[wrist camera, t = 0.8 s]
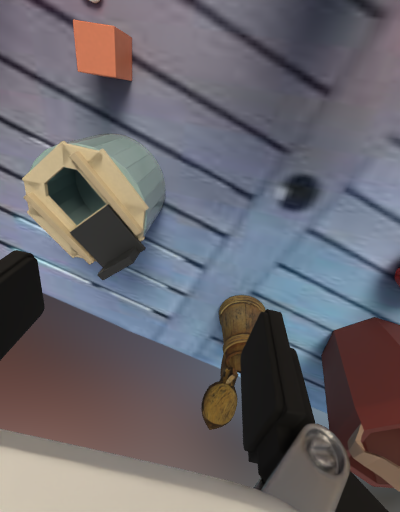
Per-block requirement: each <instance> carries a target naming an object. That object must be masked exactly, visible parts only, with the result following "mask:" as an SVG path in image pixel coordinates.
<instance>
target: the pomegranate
mask: <svg viewBox="0 0 400 512" xmlns="http://www.w3.org/2000/svg"><path fill="white" fill-rule="evenodd" d="M395 280H396V283H397V284H398V285H399V287H400V267H399V268H398V269H397V270H396V273H395Z"/></svg>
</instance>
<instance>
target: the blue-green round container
mask: <svg viewBox="0 0 400 512" xmlns="http://www.w3.org/2000/svg"><path fill="white" fill-rule="evenodd" d="M66 143H68V144H72V145H76V146H81V147H85V148H89V149H93V150H98V151H99V150H100V149H104V150H105V151H106V153H107V154H108V155H109V156H110V158H111V159H112V160H113V162H114V163H115V164H116V166H117V167H118V168H119V169H120V171H121V172H122V173H123V175H124V176H125V177H126V179H127V180H128V181H129V182H130V184H131V185H132V186H133V188H134V189H135V190H136V191H137V193H138V194H139V195H140V197H141V198H142V199H143V201H144V202H145V203H146V204H147V206H148V207H149V208H148V209H147V210H146V212H145V224H144V235H143V236H145V234H146V233H147V231H148V230H149V228H150V226H151V225H152V223H153V222H154V220H155V219H156V217H157V216H158V214H159V212H160V210H161V208H162V206H163V203H164V199H165V181H164V177H163V174H162V171H161V169H160V167H159V165H158V163H157V161H156V160H155V158H154V157H153V156H152V154H151V153H150V152H149V151H148V150H147V149H146V148H145V147H143V146H142V145H141V144H140V143H138V142H136V141H135V140H133V139H131V138H129V137H126V136H123V135H119V134H99V135H95V136H91V137H87V138H83V139H79V140H75V141H70V142H66ZM56 146H57V145H56ZM56 146H54V147H51V148H49V149H46V150H45V151H44V152H43V153H42V154H41V155H40V156H39V157H38V158H37V159H36V160H35V161H34V163H33V165H32V167H31V169H30V171H31V170H32V169H33V168H34V167H35V166H36V165H37V164H38V163H39V162H40V161H41V160H43V159H44V158H45V157H46V156H47V155H48V154H49V153H50V152H51V151H52V150H53V149H54V148H55V147H56ZM30 171H29V172H30ZM47 185H48V193H49V196H50V197H51V198H52V199H53V200H54V201H55V203H56V204H57V205H58V206H59V207H60V208H61V209H62V210H63V211H64V212H65V213H66V214H67V215H68V216H69V217H70V219H71V220H72V221H73V222H74V223H75V224H76V225H78V224H80V223H81V222H83V221H84V220H85V219H87V218H88V217H89V216H91V215H92V214H94V213H95V212H96V211H98V210H99V209H101V208H102V207H103V206H105V205H106V203H105V202H104V201H103V200H102V198H101V197H100V196H99V195H98V194H97V193H96V191H95V190H94V189H93V188H92V187H91V185H90V184H89V183H88V182H87V181H86V180H85V178H84V177H83V176H82V175H81V174H80V172H79V171H78V170H75V169H71V168H66V167H64V168H63V169H62V170H61V171H60V172H58V173H57V174H56V175H55V176H54V177H53V178H52V179H51V180H49V181H48V182H47Z"/></svg>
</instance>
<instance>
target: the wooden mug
mask: <svg viewBox="0 0 400 512" xmlns="http://www.w3.org/2000/svg"><path fill="white" fill-rule="evenodd" d="M260 312H265V308H264V306H263V304H262V303H261V302H260V301H258V300H257V299H255V298H253V297H250V296H245V295H238V296H233V297H230V298H228V299H226V300H225V301H224V302H223V303H222V305H221V307H220V309H219V319H220V324H221V326H222V333H223V341H224V345H223V353H224V355H223V359H222V364H221V379H220V381H219V382H215V383H214V384H212V385H210V386H209V388H208V389H207V391H206V393H205V394H204V397H203V401H202V416H203V418H204V421H205V423H206V425H207V426H208V428H209V430H212V429H217V428H219V427H222V426H224V425H226V424H227V423H228V422H230V421H231V419H232V417H233V416H234V413H235V410H236V406H237V394H236V391H235V387H234V385H235V381H236V378H237V377H238V375H239V374H237V372H239V373H241V366H240V358H241V353H242V350H243V348H244V346H245V344H246V342H247V340H248V338H249V335H250V333H251V331H252V329H253V327H254V325H255V323H256V321H257V318H258V316H259V314H260Z"/></svg>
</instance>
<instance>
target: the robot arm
mask: <svg viewBox="0 0 400 512" xmlns="http://www.w3.org/2000/svg"><path fill="white" fill-rule="evenodd" d="M43 311H44V300H43V294H42V287H41V281H40V275H39V268H38V262H37V259H36V258H34V256H33V254H31V253H26V252H22V251H18V250H16V251H13V252H11V253H10V254H8V255H7V256H5V257H4V258H2V259H1V260H0V360H1V359H2V358H3V357H4V355H6V353H7V352H8V351H9V350H10V349H11V348H12V347H13V346H14V344H15V343H16V342H17V341H18V340H19V339H20V338H21V337H22V336H23V334H24V333H25V332H26V331H27V330H28V329H29V328H30V327H31V326H32V324H33V323H34V322H35V321H36V320H37V319H38V318H39V317H40V316H41V314H42V313H43ZM240 366H241V393H242V420H243V445H244V450H245V451H248V455H249V462H253V463H257V464H258V473H259V475H260V476H261V477H260V479H259V480H258V482H257V483H256V485H255V487H254V488H251V487H248V486H245V485H242V484H238V483H235V482H232V481H228V480H223V479H220V478H216V477H211V476H207V475H203V474H199V473H195V472H191V471H187V470H183V469H178V468H174V467H169V466H165V465H161V464H156V463H152V462H147V461H143V460H139V459H134V458H130V457H125V456H121V455H116V454H112V453H107V452H103V451H99V450H94V449H90V448H85V447H80V446H76V445H71V444H67V443H62V442H58V441H53V440H49V439H44V438H40V437H35V436H31V435H26V434H21V433H17V432H12V431H8V430H3V429H0V512H388V511H387V510H386V509H385V508H384V506H383V505H382V504H381V503H380V502H379V501H378V500H377V499H376V498H375V497H374V496H373V495H372V494H371V493H370V492H369V491H368V489H366V487H365V486H364V485H363V484H362V483H361V482H360V481H359V480H358V479H357V478H356V477H355V476H354V474H353V473H352V472H351V471H350V462H349V457H348V454H347V452H346V449H345V448H344V446H343V444H342V443H341V441H340V440H339V439H338V438H337V437H336V435H335V434H334V433H333V432H331V431H330V430H329V429H327V428H326V427H324V426H322V425H319V424H315V420H314V416H313V413H312V409H311V405H310V401H309V398H308V394H307V390H306V386H305V382H304V379H303V375H302V371H301V367H300V364H299V360H298V356H297V353H296V351H295V350H294V349H292V348H290V346H289V342H288V337H287V333H286V329H285V325H284V321H283V317H282V314H281V312H277V311H273V310H269V309H267V310H266V311H265V312H260V314H259V316H258V318H257V321H256V323H255V325H254V327H253V329H252V331H251V333H250V335H249V338H248V340H247V342H246V344H245V346H244V348H243V350H242V353H241V358H240Z"/></svg>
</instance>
